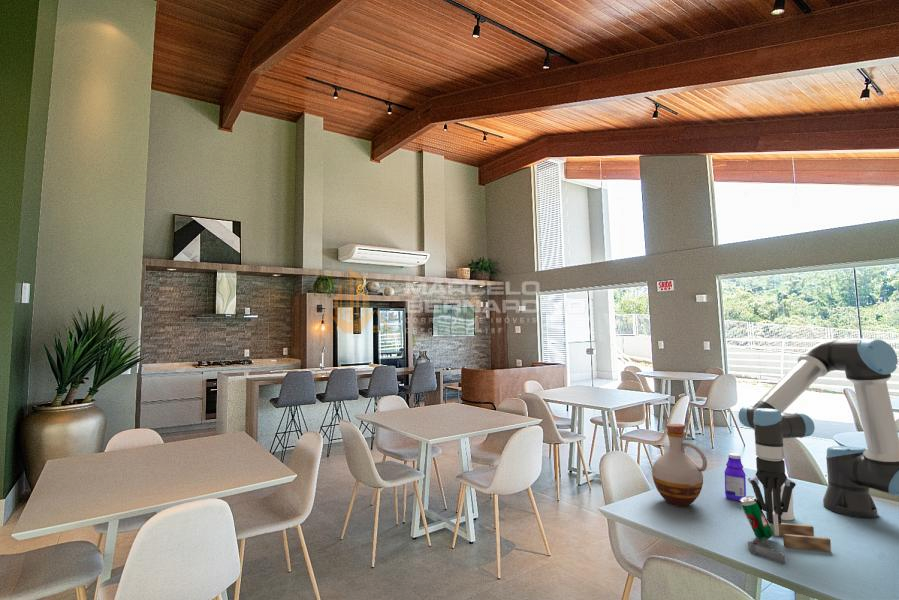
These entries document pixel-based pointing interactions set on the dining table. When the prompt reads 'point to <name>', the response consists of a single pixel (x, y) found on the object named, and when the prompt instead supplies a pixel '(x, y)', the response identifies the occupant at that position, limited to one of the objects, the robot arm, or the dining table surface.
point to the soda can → (756, 517)
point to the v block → (765, 550)
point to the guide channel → (802, 537)
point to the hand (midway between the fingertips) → (774, 533)
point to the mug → (790, 513)
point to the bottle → (735, 478)
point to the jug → (678, 470)
